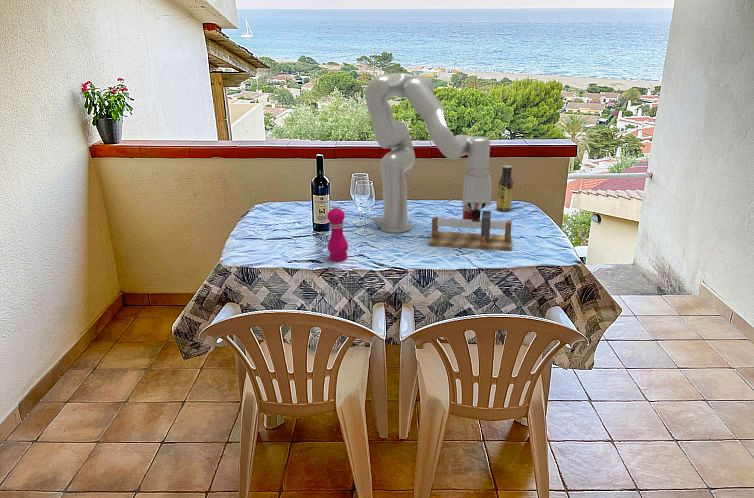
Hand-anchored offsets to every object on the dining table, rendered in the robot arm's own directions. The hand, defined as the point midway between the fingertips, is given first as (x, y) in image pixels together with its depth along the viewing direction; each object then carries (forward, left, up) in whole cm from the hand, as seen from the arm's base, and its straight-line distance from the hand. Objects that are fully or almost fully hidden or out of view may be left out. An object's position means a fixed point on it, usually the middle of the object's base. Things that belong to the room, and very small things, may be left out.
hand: (476, 219), depth 195 cm
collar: (+4, -3, -5) cm, 7 cm away
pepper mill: (-47, -26, -9) cm, 54 cm away
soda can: (-3, +18, -9) cm, 20 cm away
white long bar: (-2, -3, -2) cm, 4 cm away
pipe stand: (-2, -3, -8) cm, 9 cm away
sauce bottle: (+10, +39, -9) cm, 41 cm away
